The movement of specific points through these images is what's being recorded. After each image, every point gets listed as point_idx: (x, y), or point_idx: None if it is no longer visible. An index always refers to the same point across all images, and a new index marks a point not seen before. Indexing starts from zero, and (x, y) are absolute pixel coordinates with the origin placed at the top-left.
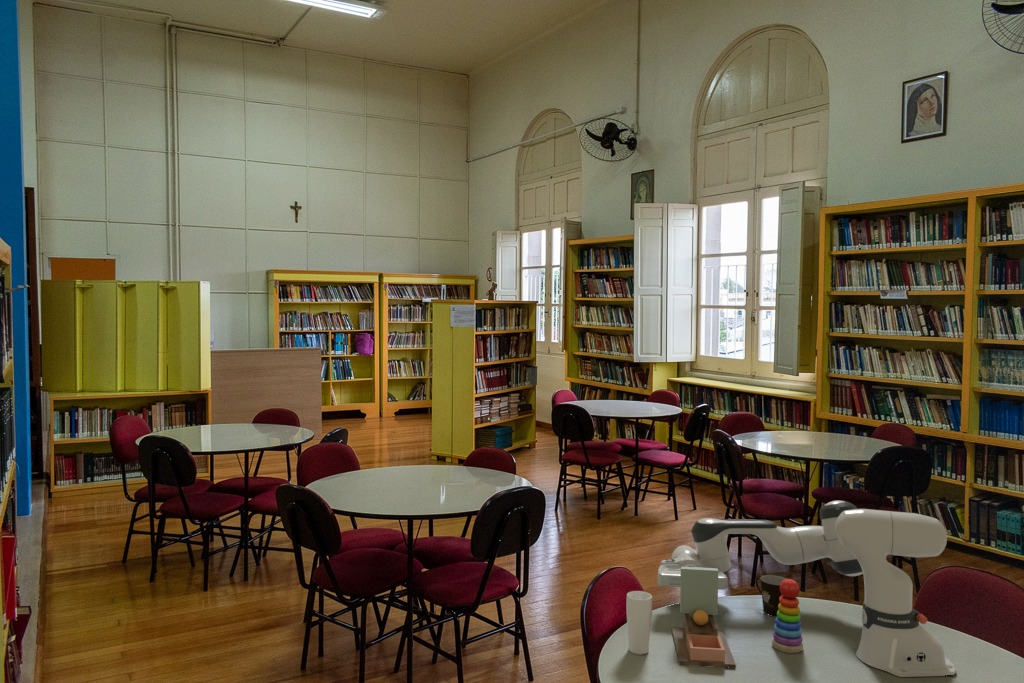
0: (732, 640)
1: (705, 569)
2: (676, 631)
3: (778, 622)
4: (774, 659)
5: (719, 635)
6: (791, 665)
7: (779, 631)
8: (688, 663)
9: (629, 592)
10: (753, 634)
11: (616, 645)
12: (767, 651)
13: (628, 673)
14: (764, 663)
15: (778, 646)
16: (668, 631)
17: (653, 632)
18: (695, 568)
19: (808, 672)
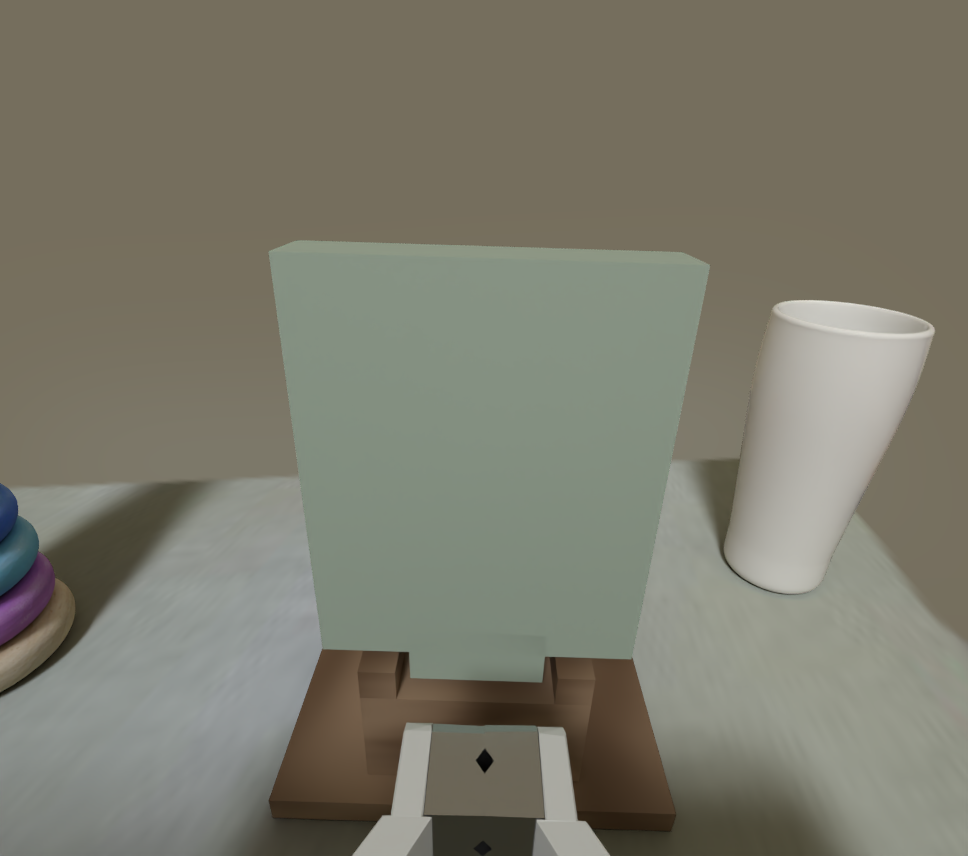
0: (257, 715)
1: (425, 247)
2: (628, 736)
3: (9, 501)
4: (173, 552)
5: (336, 707)
6: (141, 521)
7: (35, 531)
8: None
9: (928, 326)
10: (6, 841)
11: (897, 603)
12: (141, 609)
13: (734, 461)
14: (245, 526)
15: (71, 592)
16: (693, 816)
17: (794, 783)
18: (532, 252)
19: (121, 491)
